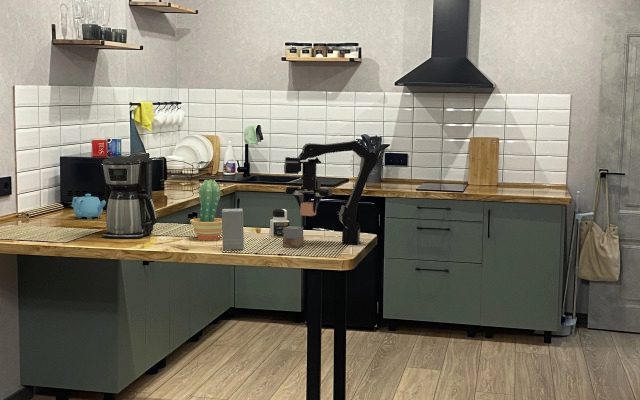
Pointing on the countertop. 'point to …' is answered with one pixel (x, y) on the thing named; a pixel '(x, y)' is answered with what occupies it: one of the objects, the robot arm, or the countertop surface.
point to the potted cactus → (208, 212)
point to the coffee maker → (128, 197)
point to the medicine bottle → (278, 223)
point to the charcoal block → (293, 232)
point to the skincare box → (232, 229)
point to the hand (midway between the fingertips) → (308, 212)
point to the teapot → (87, 206)
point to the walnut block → (293, 242)
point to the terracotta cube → (307, 209)
